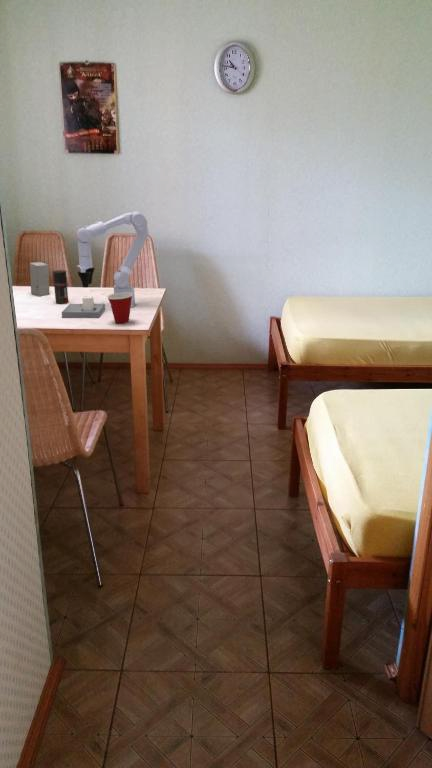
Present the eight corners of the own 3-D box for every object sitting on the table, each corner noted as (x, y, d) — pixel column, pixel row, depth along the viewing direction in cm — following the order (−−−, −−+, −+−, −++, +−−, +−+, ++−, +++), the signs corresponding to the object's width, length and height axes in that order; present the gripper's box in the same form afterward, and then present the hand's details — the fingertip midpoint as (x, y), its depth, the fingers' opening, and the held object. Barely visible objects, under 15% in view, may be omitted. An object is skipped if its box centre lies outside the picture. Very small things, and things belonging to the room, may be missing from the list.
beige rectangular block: (94, 314, 277) (93, 296, 274) (92, 316, 273) (91, 298, 270) (85, 314, 277) (84, 296, 274) (83, 316, 273) (82, 298, 270)
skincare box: (30, 294, 315) (27, 263, 310) (43, 292, 320) (40, 261, 314) (38, 296, 309) (35, 265, 304) (51, 294, 314) (48, 263, 308)
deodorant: (65, 304, 294) (62, 272, 289) (53, 303, 295) (50, 272, 290) (70, 301, 300) (67, 270, 295) (59, 301, 301) (56, 270, 296)
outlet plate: (105, 309, 285) (104, 303, 284) (98, 317, 270) (98, 312, 269) (70, 309, 285) (70, 303, 285) (62, 317, 270) (61, 312, 270)
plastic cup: (109, 319, 268) (107, 291, 264) (134, 318, 269) (133, 291, 265) (107, 325, 258) (105, 297, 254) (133, 325, 259) (131, 297, 255)
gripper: (79, 253, 287) (82, 282, 291) (72, 258, 273) (75, 288, 278) (95, 253, 286) (96, 282, 291) (88, 258, 273) (90, 288, 278)
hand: (87, 285), depth 284 cm, fingers open, 7 cm apart
